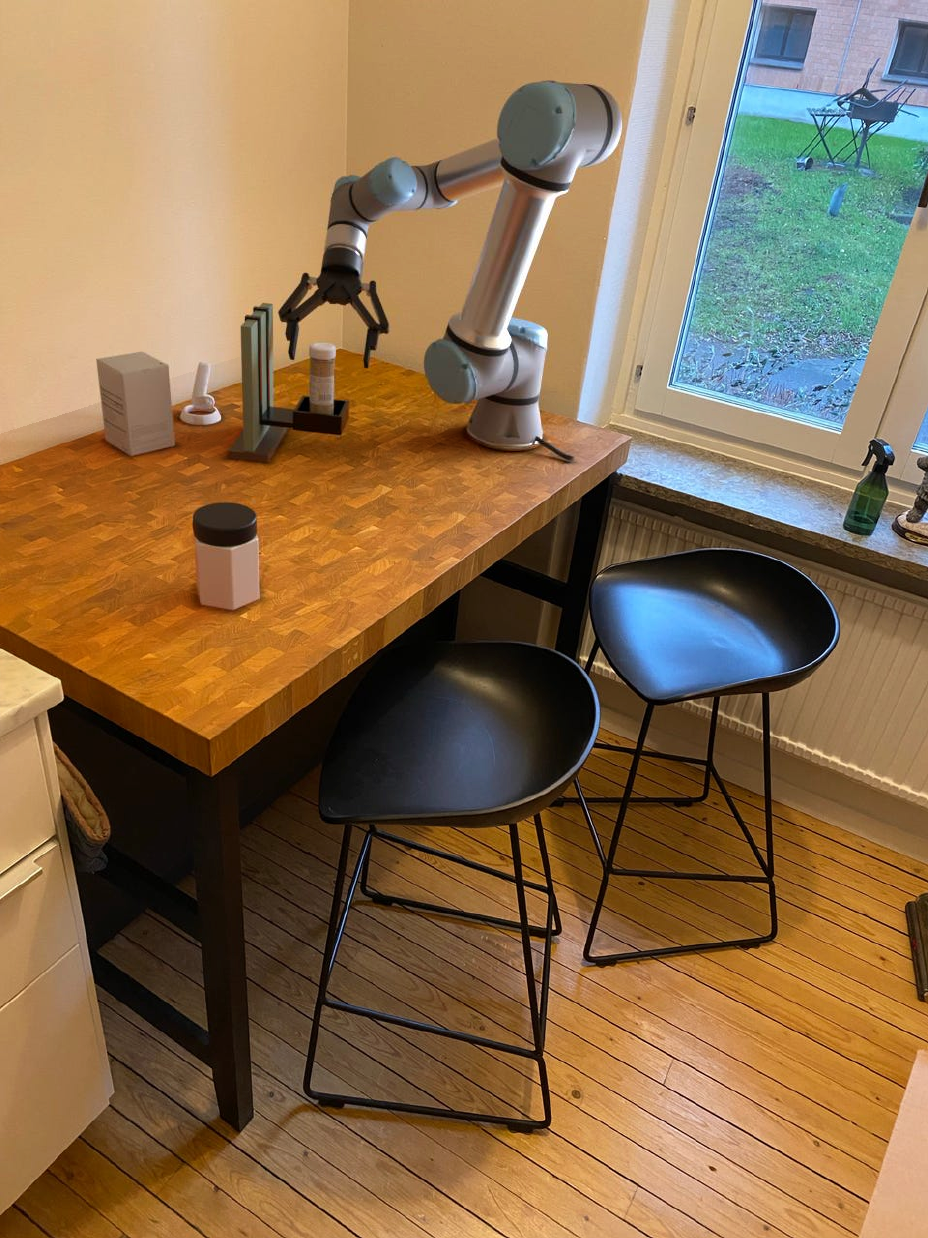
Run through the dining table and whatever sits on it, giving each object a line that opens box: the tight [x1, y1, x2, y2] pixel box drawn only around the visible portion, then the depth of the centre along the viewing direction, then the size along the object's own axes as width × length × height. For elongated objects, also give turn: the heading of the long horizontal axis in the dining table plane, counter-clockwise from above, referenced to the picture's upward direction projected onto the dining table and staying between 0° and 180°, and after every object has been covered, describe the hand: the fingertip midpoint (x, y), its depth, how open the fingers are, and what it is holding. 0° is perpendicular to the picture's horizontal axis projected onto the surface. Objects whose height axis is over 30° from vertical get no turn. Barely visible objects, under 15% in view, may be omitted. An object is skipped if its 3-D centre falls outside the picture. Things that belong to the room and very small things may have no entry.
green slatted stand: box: [227, 302, 289, 464], centre depth 167 cm, size 7×17×24 cm, turn 177°
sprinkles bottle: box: [308, 341, 337, 415], centre depth 167 cm, size 5×5×14 cm
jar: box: [191, 501, 261, 611], centre depth 125 cm, size 9×8×12 cm
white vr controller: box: [179, 361, 222, 426], centre depth 181 cm, size 8×12×7 cm
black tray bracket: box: [244, 305, 350, 437], centre depth 166 cm, size 17×9×19 cm, turn 87°
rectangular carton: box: [95, 351, 176, 457], centre depth 164 cm, size 9×9×15 cm
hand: (328, 360), depth 170 cm, fingers open, 13 cm apart
